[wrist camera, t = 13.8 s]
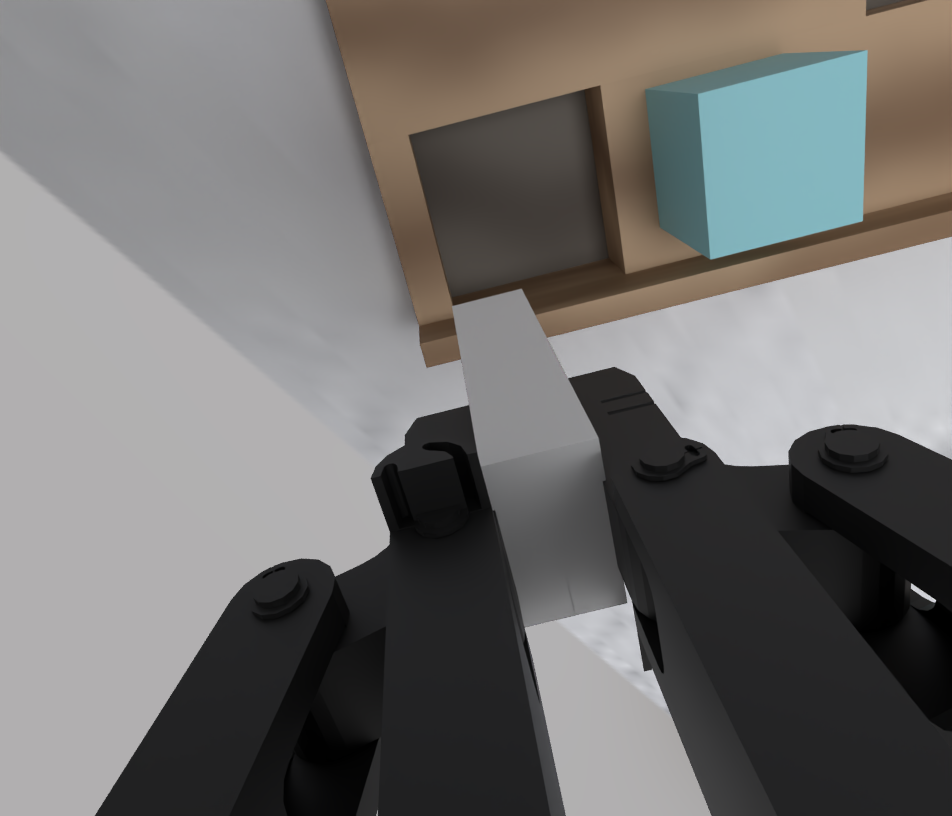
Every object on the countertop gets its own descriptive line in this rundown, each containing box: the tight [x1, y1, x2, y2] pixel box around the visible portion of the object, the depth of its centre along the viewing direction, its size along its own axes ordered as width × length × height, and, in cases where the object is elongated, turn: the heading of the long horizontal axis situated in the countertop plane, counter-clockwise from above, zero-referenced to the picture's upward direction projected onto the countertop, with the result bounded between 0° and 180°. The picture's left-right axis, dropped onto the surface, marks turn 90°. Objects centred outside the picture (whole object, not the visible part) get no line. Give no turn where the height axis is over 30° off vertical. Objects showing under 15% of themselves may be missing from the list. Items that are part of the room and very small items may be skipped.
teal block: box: [645, 50, 868, 260], centre depth 23 cm, size 5×5×5 cm
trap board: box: [326, 0, 952, 368], centre depth 25 cm, size 15×33×5 cm, turn 103°
